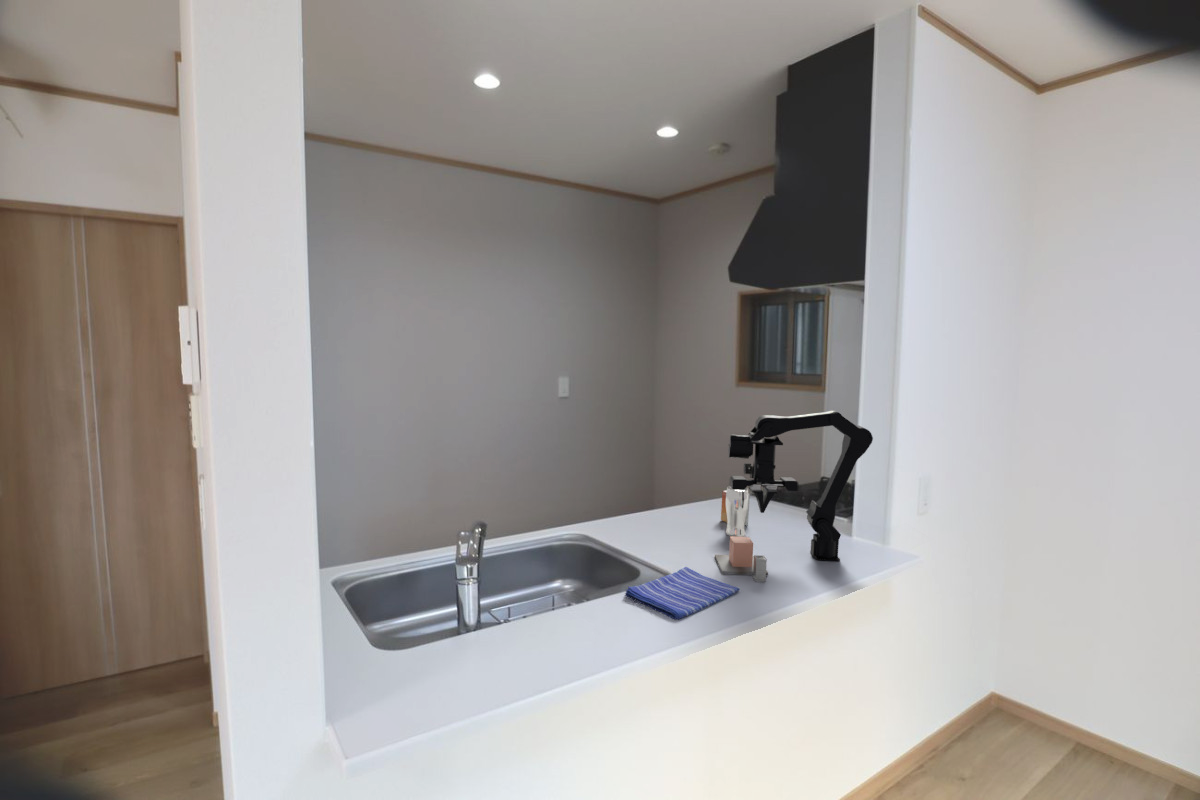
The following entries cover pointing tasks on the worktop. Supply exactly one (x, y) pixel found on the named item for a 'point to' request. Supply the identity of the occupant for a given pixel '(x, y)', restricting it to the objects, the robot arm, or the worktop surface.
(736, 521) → the beer glass
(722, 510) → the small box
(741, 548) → the salmon pink block
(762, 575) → the post steel
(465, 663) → the worktop surface
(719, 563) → the plate
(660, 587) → the dish towel
